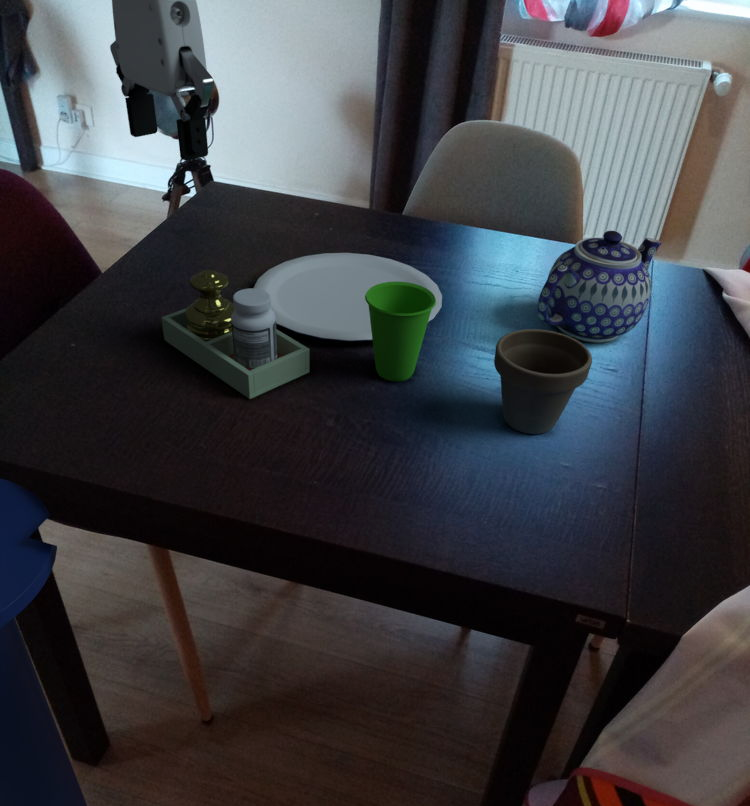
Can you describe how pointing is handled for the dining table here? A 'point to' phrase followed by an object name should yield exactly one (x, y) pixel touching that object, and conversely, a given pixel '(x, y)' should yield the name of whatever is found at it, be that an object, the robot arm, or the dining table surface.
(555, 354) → the flower pot
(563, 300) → the teapot
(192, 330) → the brass tiered cylinder
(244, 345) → the pill bottle
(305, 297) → the plate
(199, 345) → the tray
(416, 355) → the cup
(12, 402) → the dining table surface
